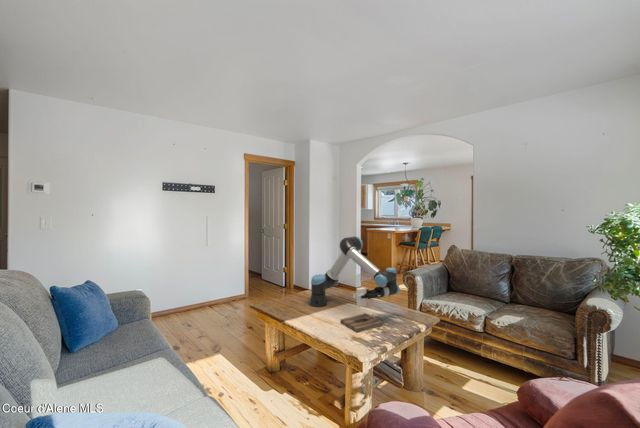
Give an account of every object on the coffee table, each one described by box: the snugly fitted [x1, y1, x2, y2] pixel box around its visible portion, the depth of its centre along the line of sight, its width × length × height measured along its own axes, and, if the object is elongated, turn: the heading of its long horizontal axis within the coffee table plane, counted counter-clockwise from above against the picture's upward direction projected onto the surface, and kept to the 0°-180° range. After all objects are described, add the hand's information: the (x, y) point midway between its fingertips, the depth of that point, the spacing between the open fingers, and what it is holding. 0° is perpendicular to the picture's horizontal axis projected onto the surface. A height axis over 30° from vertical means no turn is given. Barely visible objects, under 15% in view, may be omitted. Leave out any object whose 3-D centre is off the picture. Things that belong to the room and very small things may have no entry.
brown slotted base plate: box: [340, 312, 383, 333], centre depth 197 cm, size 18×22×2 cm
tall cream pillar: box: [356, 286, 367, 308], centre depth 196 cm, size 3×6×12 cm, turn 121°
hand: (355, 297), depth 193 cm, fingers closed on tall cream pillar, 3 cm apart
